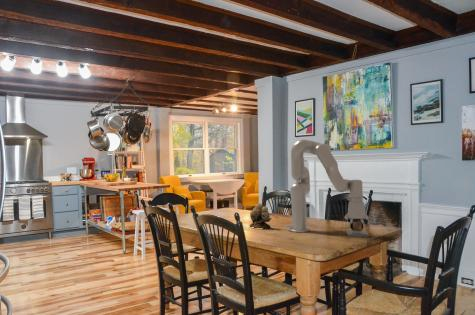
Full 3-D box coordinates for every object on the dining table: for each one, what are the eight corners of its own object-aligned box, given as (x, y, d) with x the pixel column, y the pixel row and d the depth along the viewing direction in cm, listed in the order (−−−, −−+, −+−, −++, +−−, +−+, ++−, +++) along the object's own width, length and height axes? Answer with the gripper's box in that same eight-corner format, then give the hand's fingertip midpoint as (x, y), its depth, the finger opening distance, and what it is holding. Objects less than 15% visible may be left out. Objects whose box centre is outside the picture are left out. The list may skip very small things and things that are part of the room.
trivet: (348, 236, 224) (348, 233, 224) (345, 232, 235) (345, 230, 235) (369, 237, 221) (368, 234, 222) (365, 233, 233) (365, 230, 233)
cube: (353, 231, 226) (353, 222, 227) (352, 229, 231) (352, 221, 231) (361, 231, 226) (361, 223, 226) (360, 229, 231) (360, 221, 231)
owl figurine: (275, 227, 259) (275, 203, 259) (265, 230, 250) (265, 205, 250) (255, 225, 271) (255, 201, 271) (245, 227, 262) (244, 203, 262)
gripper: (342, 200, 227) (343, 230, 226) (371, 200, 224) (372, 231, 223) (341, 199, 234) (341, 228, 234) (369, 199, 231) (370, 228, 231)
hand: (356, 229), depth 229 cm, fingers closed on cube, 4 cm apart
